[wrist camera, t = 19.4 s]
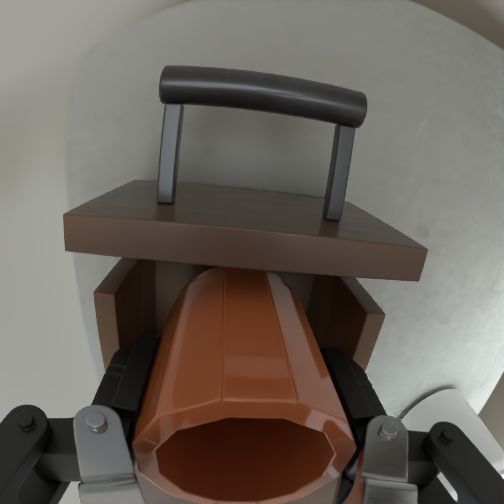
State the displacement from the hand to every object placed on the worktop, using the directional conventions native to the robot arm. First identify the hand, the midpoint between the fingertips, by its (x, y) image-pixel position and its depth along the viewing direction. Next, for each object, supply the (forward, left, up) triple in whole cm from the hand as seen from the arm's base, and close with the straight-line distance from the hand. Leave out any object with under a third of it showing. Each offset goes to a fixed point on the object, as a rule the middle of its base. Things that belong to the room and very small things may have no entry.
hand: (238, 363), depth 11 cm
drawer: (0, 0, -8) cm, 8 cm away
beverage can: (+15, +21, -9) cm, 27 cm away
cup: (0, 0, -2) cm, 2 cm away
